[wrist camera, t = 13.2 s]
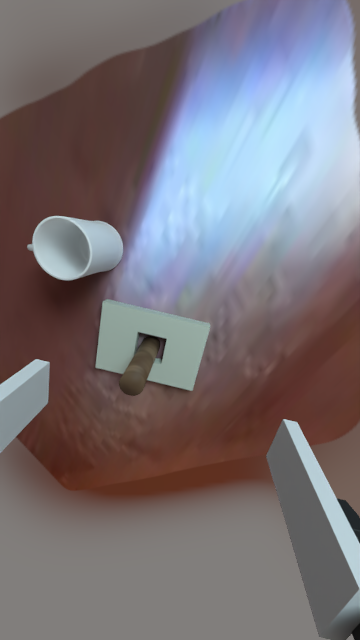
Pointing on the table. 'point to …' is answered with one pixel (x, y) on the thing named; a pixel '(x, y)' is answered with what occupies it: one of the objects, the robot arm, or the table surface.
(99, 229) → the mug
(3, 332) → the table surface
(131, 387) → the peg
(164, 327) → the socket board
